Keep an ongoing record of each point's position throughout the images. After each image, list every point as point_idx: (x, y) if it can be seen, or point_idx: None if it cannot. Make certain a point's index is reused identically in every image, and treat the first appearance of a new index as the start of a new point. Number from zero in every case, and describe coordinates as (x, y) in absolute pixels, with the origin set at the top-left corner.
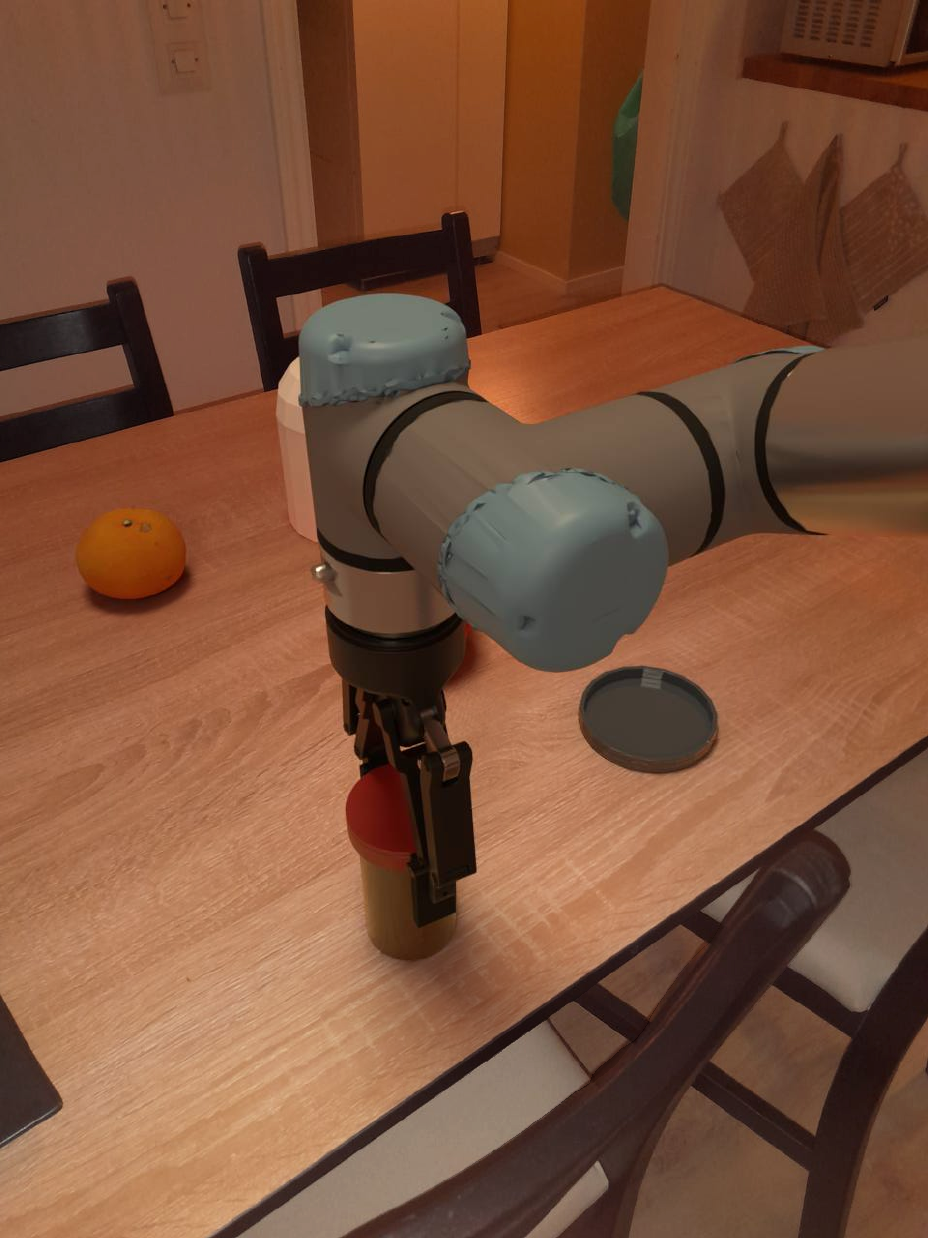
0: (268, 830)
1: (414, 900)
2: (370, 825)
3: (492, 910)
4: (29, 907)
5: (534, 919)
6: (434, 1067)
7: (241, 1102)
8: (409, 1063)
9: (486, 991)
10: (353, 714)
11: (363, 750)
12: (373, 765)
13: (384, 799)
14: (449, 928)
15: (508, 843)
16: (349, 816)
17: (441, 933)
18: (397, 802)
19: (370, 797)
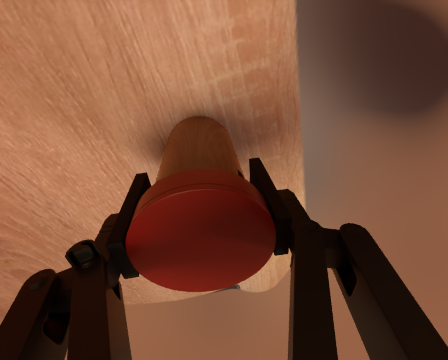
0: (98, 215)
1: None
2: (220, 278)
3: (210, 85)
4: (138, 299)
5: (232, 51)
6: (298, 161)
7: None
8: (289, 173)
9: (272, 116)
10: (62, 352)
11: (124, 310)
12: (127, 268)
13: (188, 265)
14: (227, 134)
15: (140, 36)
16: (200, 290)
17: (232, 143)
18: (197, 255)
19: (180, 275)
